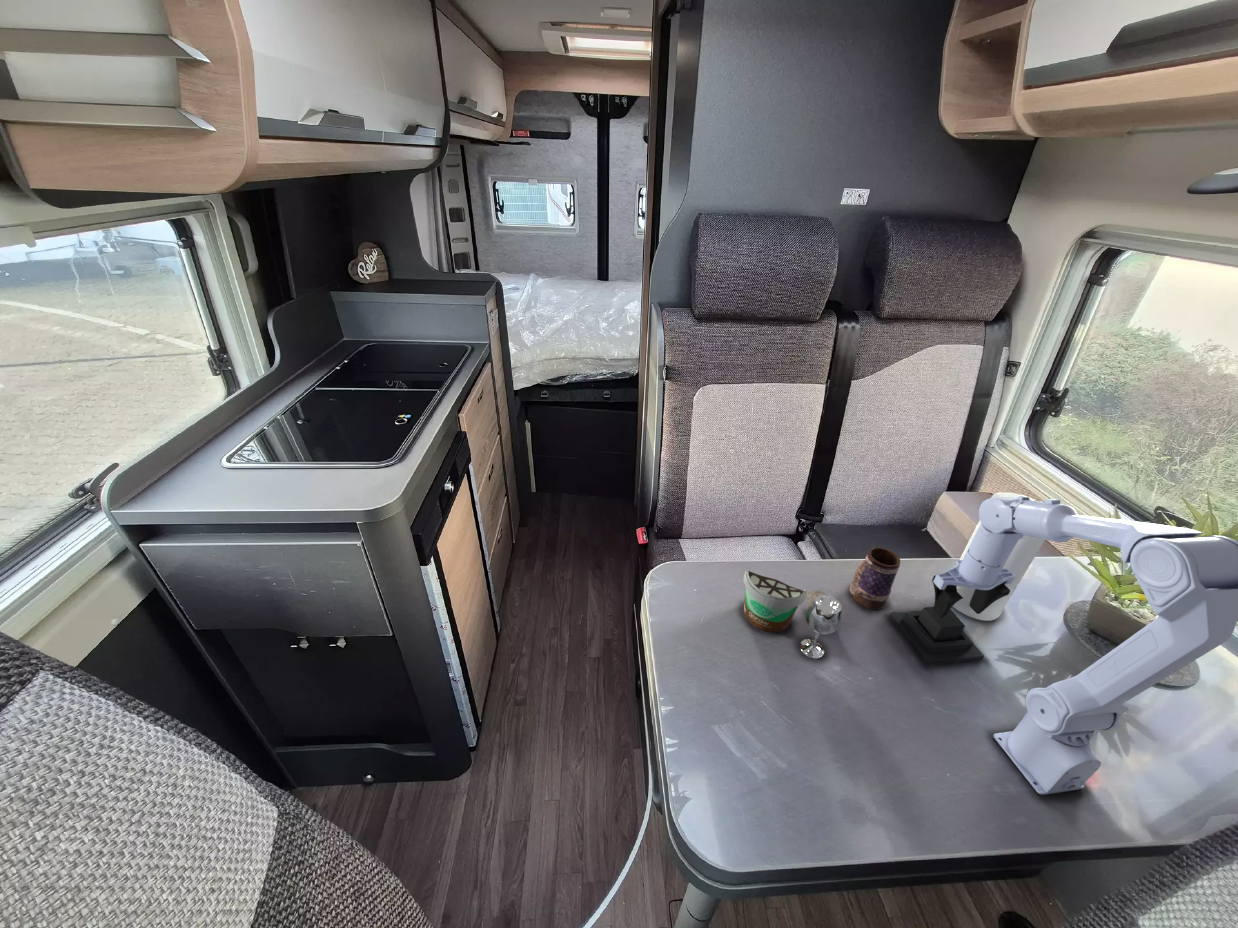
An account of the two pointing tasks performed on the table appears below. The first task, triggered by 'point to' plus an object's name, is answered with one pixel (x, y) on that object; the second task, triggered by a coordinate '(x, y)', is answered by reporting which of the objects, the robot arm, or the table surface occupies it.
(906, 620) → the base pad
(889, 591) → the mug
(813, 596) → the toy character
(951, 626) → the black block
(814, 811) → the table surface
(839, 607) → the wineglass
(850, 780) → the table surface
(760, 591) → the food container
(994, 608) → the tall pillar cylinder
